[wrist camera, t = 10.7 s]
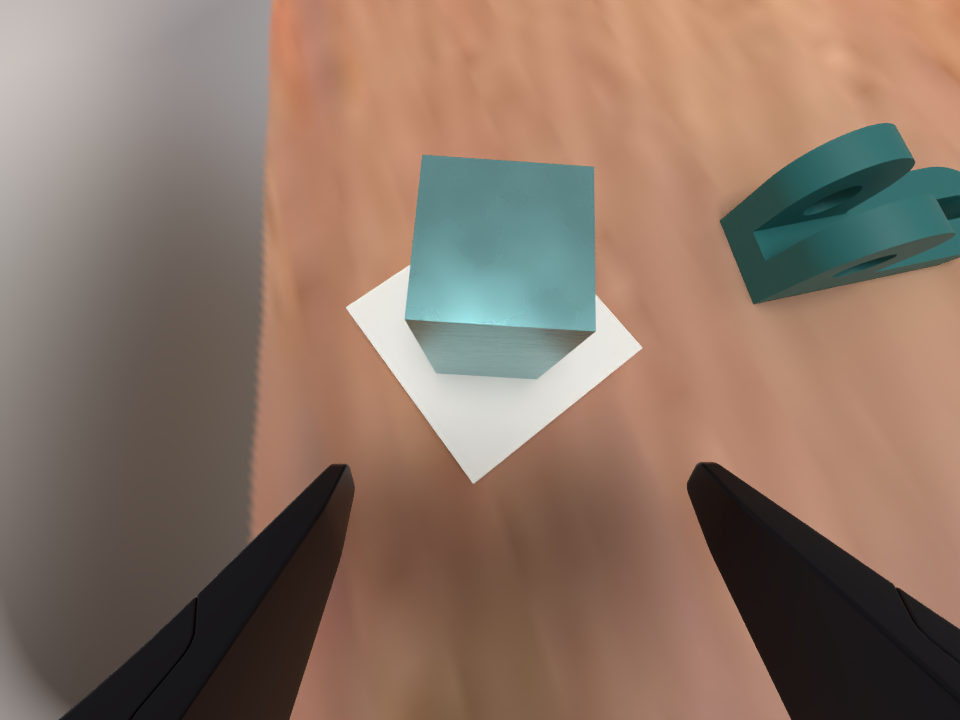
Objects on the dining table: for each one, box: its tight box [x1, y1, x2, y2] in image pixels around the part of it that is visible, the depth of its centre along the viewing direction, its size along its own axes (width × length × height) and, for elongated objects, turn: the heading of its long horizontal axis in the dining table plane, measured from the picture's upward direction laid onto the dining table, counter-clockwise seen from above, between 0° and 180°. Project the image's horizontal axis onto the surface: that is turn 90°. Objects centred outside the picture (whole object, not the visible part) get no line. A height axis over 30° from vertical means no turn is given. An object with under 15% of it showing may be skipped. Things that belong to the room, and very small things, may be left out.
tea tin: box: [405, 155, 596, 379], centre depth 16 cm, size 6×6×10 cm
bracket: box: [720, 123, 960, 304], centre depth 22 cm, size 18×7×8 cm, turn 102°
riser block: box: [346, 265, 642, 484], centre depth 23 cm, size 13×13×3 cm
